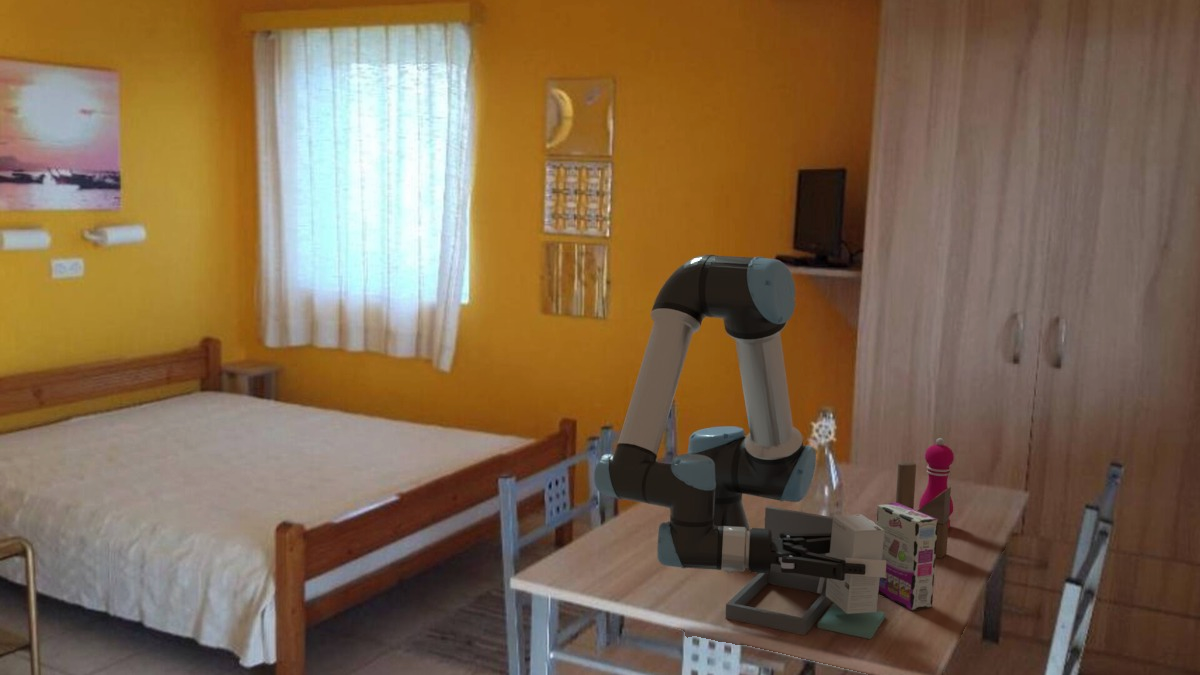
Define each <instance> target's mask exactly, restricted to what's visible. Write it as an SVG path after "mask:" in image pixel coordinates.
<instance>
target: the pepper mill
mask: <svg viewBox="0 0 1200 675" xmlns="http://www.w3.org/2000/svg"><path fill="white" fill-rule="evenodd" d="M924 459H925V462H926V463H927V464H928V465H927V466H926V473H927V476H928V482H927V485H926V489H925V490H924V491H923V493H922V495H921V497H920V500H919V504H918V510H919V509H920V508H922V507H923V506H925V505H926V504H927V503H929V502H930V501H931V500H933V499H934V498H935V497H937V496H938V495H939V494H941V493H942V492H943V491H945V490H946V489H948V488H949V487H948V477H949V476H950V475H951V467H950V466H951V465H952V464H953V463H954V460H955V456H954V452H953V449H951V448H950V447H949V446H947V445H945V439H943V438H942V437H938V438H936V441H935V444H932V445H931V446H929V447H928V448H927V449H926V450H925V454H924ZM953 513H954V502H953V500H952V497H951V495H950V509H949V517H950V516H951V515H952V514H953ZM948 522H949V524H948V530H949V529H950V528H951V519H950V518H949V520H948Z"/></svg>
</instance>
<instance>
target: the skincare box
mask: <svg viewBox="0 0 1200 675" xmlns="http://www.w3.org/2000/svg"><path fill="white" fill-rule="evenodd" d="M832 517H833V523H832V534H831V544H830V554H829V557H833V558H837V559H841V560H845V558H858V559H873V560H882V551H883V542H884V532H885V530H883V529H882V528H880V527H879V526H878V525H877V523H875V521H874V520H871V519H869V518H868V517H866V516H865V515H863V514H861V513H860V514H833V515H832ZM879 581H880V577H867V576H852V575H845V580H843V581H840V580H836V579H830V578H827V584H826V597H827V598H828V599H830V600H831V601H832V603H835V604H836V605H838V606H839V607H840V608H841V609H842V610H843V611H844V612H845V613H847V614H854V613H870V612H877V611H878V610H877V609H878V600H879V593H878V591H879Z"/></svg>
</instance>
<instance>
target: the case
mask: <svg viewBox="0 0 1200 675" xmlns="http://www.w3.org/2000/svg"><path fill="white" fill-rule="evenodd" d="M764 515H765V516H764V529H770V530H771V532H772V539H779V534H780V533H789V534H816V533H832V523H833V516H827V515H823V514H822V515H820V514H816V513H809V512H806V511H805V512H803V511H797V510H793V509H786V508H779V507H773V506H766V507H765V512H764ZM829 554H830V553H824V554H820V555H824V556H829ZM768 584H769V585H775V586H780V587H785V588H789V589H794V590H799V591H806V592H811V593H815V594H819V597H817V599H816V600H815V601H814V602H813V604H811V605H810V607H809V608H808V609H807V611H805V612H804V614H803V615H802V616H796V615H791V614H787V613H786V614H785V613H780V612H776V611H771V610H767V609H762V608H758V607H752V606H750V605H749V606H747V604H748V603H749V602H750V601H751V600H752V599H753V598H755V596H756V595H757V594H758V593H759V592H761V590H763V589H764V587H766V585H768ZM826 584H827V578H823V577H817V576H810V575H804V574H797V573H783V572H781V565H776V564H771V569H770V572H769V573H757V574H756V576H755V577H753V578H752V579H751V580H750V581H749V582H748V583H747V584H746V585H745V586H744V587H743V588H742V589H741V590H740V591H738V592H737V593H736V594H735V595H734V596H733V597H732V598H731V599H730V600H728V602H726V603H725V619H728V620H732V621H736V622H737V621H738V622H743V623H747V624H752V625H756V626H760V625H761V627H766V628H769V627H770V628H771V629H774V628H775V629H774V630H778V629H779V631H784V632H788V633H794V634H798V635H802V636H805V635H807V633H808V632H809V631H810V629H811V628H812V627H813V626H814V624H815V623H816V622H818V620H819V619H820V617H822V616H823V615H822V614H823V613H824V612H826V611H827V609H828V608H829V607H830V606H831V605H832V603H833V601H831V600H830V599H828V598H827V597H826Z"/></svg>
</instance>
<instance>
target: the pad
mask: <svg viewBox="0 0 1200 675" xmlns="http://www.w3.org/2000/svg"><path fill="white" fill-rule="evenodd" d="M885 619H886V612H885V611H880V610H877V612H870V613H854V614H847V613H845V612H844V611H843V610H842V609H841V608H840V607H839V606H838V605H836V604H835V603H834V602H832V603H831V604H830V605H829V607H828V608H827V609H826V610H825V613H824V614H823V615H821V618H819V619H818V620H817V629H821V630H827V631H831V632H836V633H839V634H840V633H841V634H844V635H850V636H854V637H859V638H864V639H869V640H872V638H873V637H874V636H875V634H876V632H877V631H878V630H879V628H880V626H881V624H882V623H883V621H884V620H885ZM878 627H879V628H878Z"/></svg>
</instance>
